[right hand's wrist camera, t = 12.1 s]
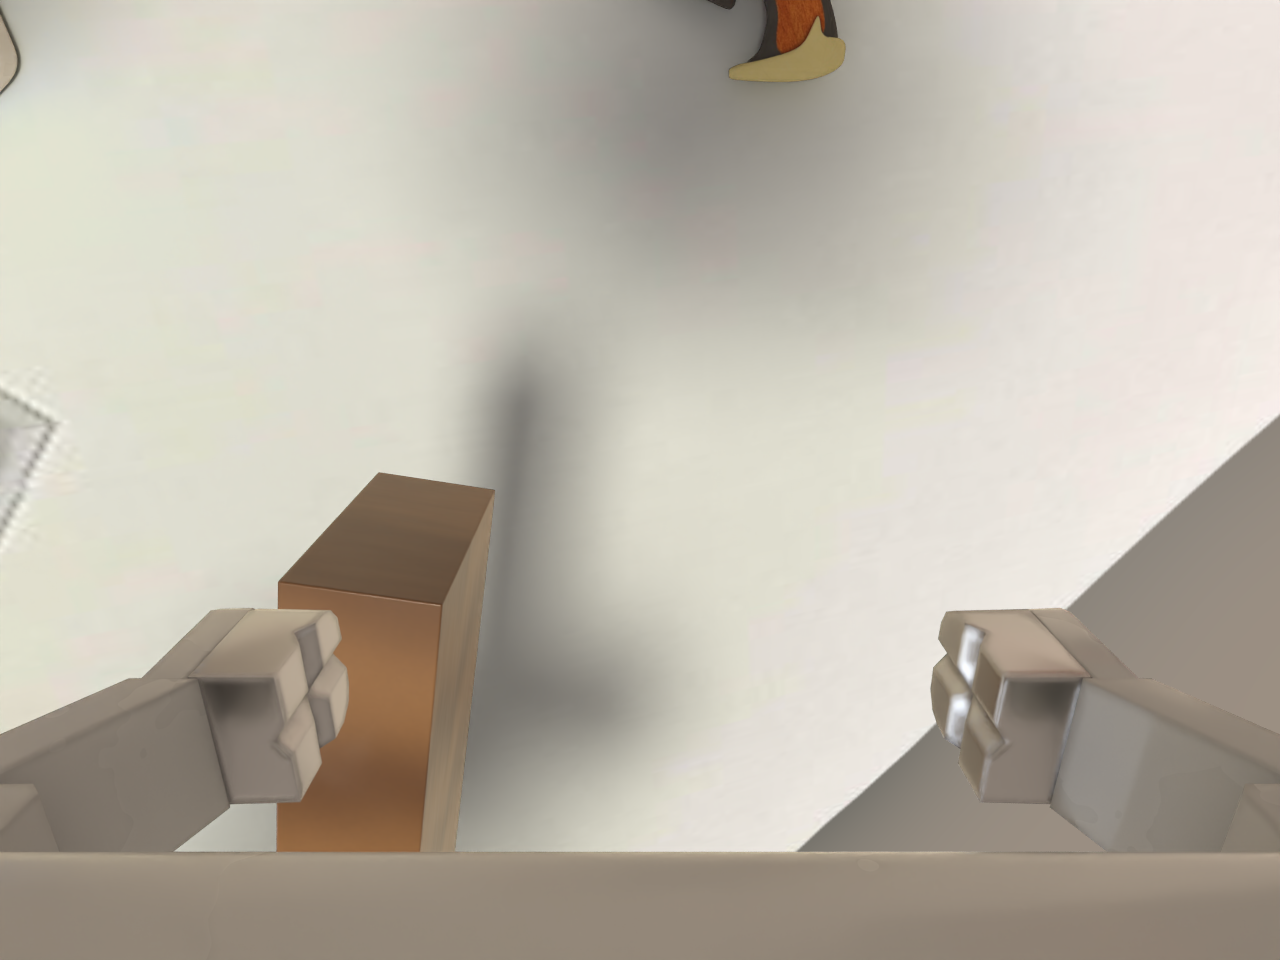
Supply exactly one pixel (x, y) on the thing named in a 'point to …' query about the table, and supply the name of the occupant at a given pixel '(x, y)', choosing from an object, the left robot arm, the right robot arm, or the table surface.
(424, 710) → the bar
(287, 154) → the table surface
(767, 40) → the toy gun
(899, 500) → the table surface
